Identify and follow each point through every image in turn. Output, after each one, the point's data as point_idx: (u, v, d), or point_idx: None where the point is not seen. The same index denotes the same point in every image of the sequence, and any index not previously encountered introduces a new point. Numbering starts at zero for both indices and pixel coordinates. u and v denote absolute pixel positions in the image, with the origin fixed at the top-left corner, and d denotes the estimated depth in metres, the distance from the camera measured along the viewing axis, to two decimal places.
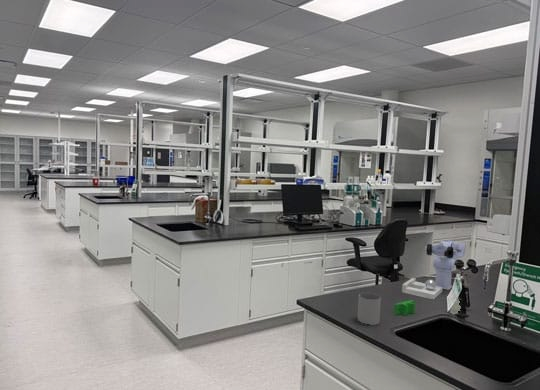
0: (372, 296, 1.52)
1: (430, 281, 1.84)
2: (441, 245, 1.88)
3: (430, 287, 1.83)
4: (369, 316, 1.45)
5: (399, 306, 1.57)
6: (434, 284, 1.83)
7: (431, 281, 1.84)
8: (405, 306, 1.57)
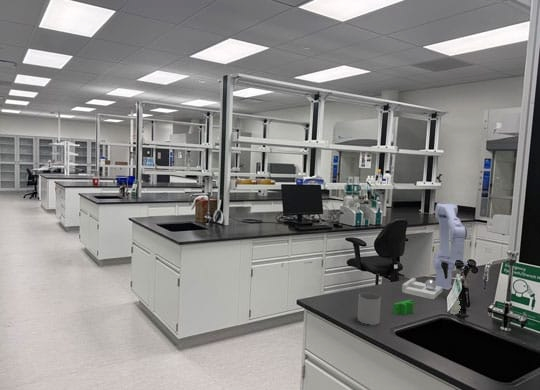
0: (372, 296, 1.52)
1: (430, 281, 1.84)
2: None
3: (430, 287, 1.83)
4: (369, 316, 1.45)
5: (398, 306, 1.58)
6: (434, 284, 1.83)
7: (431, 281, 1.84)
8: (404, 306, 1.57)
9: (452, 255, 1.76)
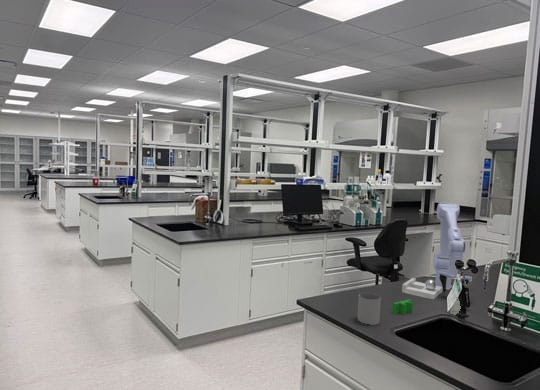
0: (372, 296, 1.52)
1: (430, 281, 1.84)
2: (453, 277, 1.76)
3: (430, 287, 1.83)
4: (369, 316, 1.45)
5: (397, 305, 1.58)
6: (434, 284, 1.83)
7: (431, 281, 1.84)
8: (403, 305, 1.57)
9: (450, 268, 1.77)
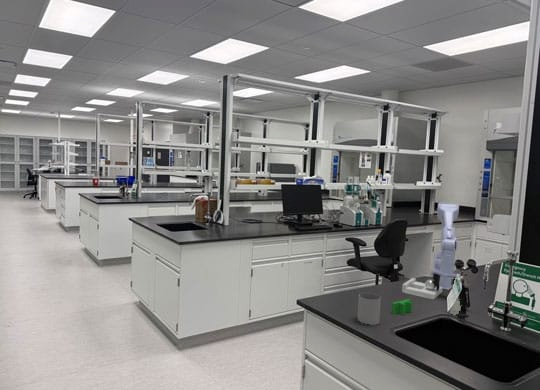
0: (372, 296, 1.52)
1: (430, 281, 1.84)
2: (446, 275, 1.78)
3: (430, 287, 1.83)
4: (369, 316, 1.45)
5: (396, 305, 1.58)
6: (434, 284, 1.83)
7: (431, 281, 1.84)
8: (402, 305, 1.58)
9: (443, 267, 1.79)
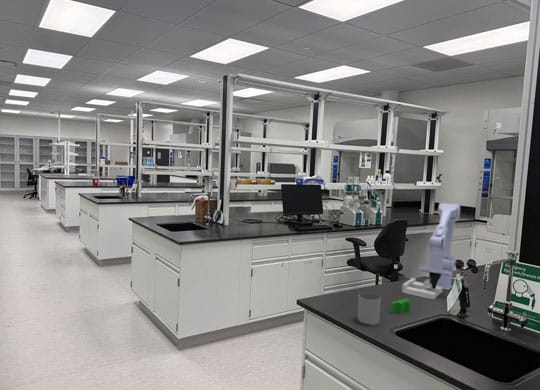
0: (372, 296, 1.52)
1: (427, 281, 1.84)
2: None
3: (429, 287, 1.83)
4: (369, 316, 1.45)
5: (395, 304, 1.59)
6: (431, 283, 1.84)
7: (427, 281, 1.84)
8: (401, 304, 1.58)
9: (431, 264, 1.82)
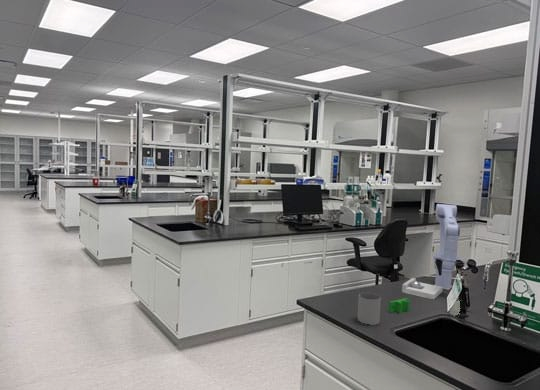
0: (372, 296, 1.52)
1: None
2: (449, 260, 1.79)
3: (413, 283, 1.89)
4: (369, 316, 1.45)
5: (393, 304, 1.60)
6: None
7: None
8: (399, 304, 1.59)
9: (446, 252, 1.80)
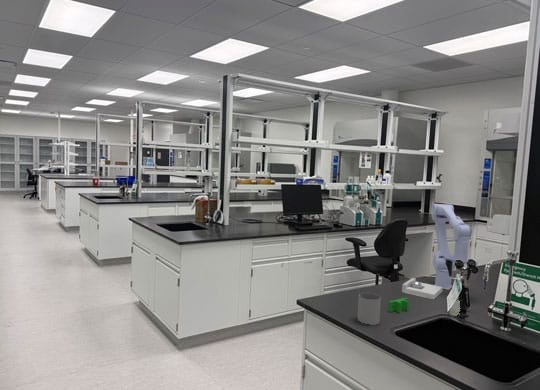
0: (372, 296, 1.52)
1: None
2: None
3: (415, 284, 1.88)
4: (369, 316, 1.45)
5: (393, 303, 1.60)
6: (411, 285, 1.90)
7: None
8: (399, 303, 1.59)
9: (456, 253, 1.79)
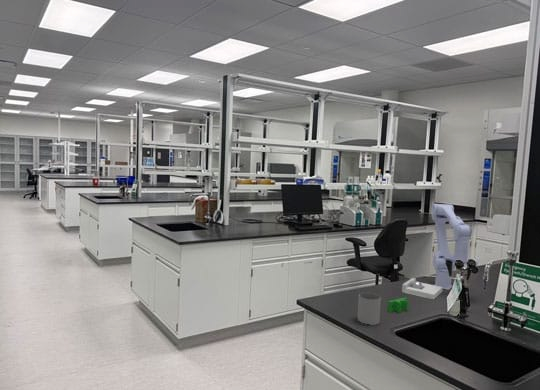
0: (372, 296, 1.52)
1: None
2: None
3: (416, 284, 1.88)
4: (369, 316, 1.45)
5: (392, 303, 1.60)
6: (412, 285, 1.90)
7: None
8: (398, 303, 1.59)
9: (456, 253, 1.79)
